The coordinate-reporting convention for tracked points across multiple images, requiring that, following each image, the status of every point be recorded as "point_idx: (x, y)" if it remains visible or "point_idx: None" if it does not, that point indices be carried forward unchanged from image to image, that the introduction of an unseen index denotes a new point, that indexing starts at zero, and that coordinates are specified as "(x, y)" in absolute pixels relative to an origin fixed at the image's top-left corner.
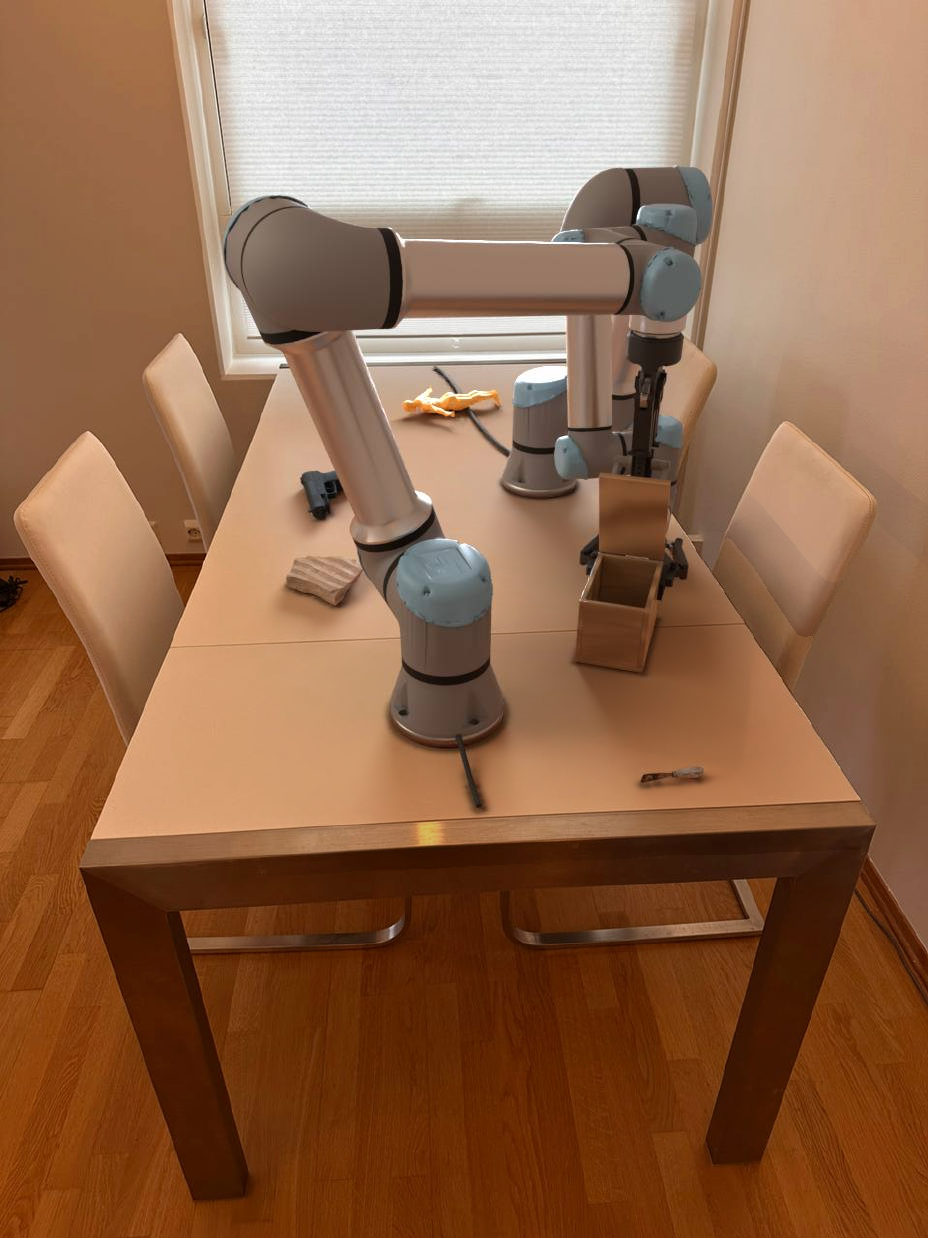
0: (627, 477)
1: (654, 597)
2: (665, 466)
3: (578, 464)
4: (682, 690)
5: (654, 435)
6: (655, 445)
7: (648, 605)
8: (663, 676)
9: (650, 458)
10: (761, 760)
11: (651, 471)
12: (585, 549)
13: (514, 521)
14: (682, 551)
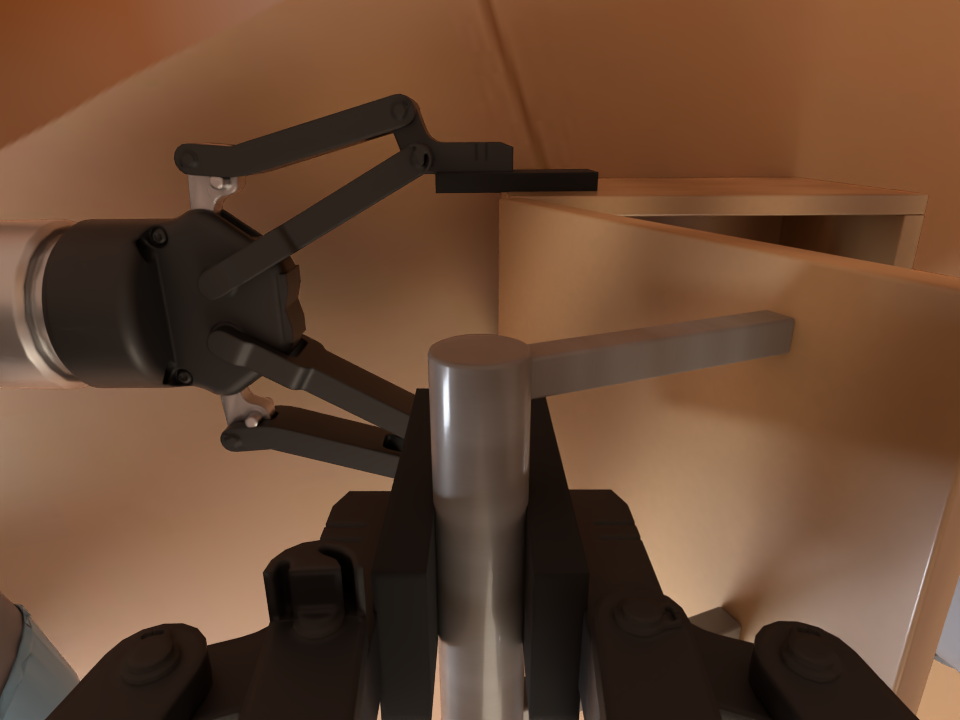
0: (924, 642)
1: (746, 192)
2: (530, 386)
3: (30, 704)
4: (862, 49)
5: (355, 717)
6: (362, 592)
7: (883, 204)
8: (799, 114)
9: (586, 561)
10: None
11: (424, 453)
12: None
13: (103, 636)
14: (288, 133)
